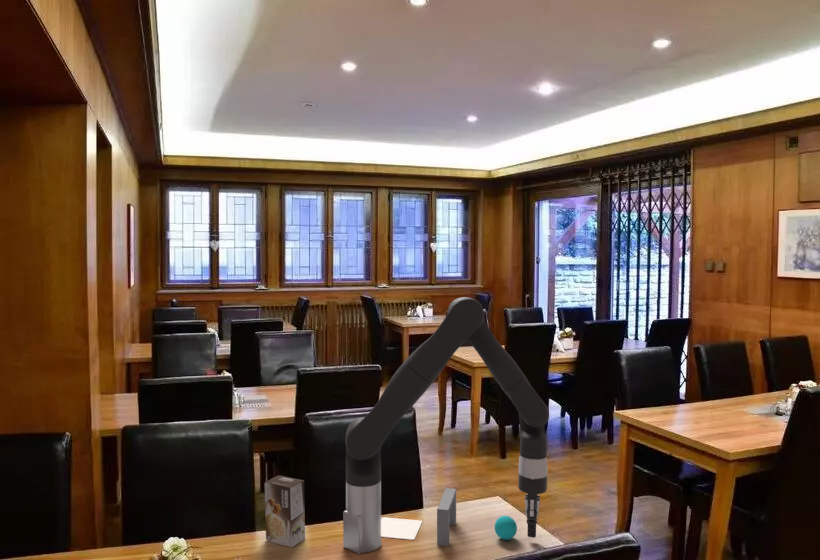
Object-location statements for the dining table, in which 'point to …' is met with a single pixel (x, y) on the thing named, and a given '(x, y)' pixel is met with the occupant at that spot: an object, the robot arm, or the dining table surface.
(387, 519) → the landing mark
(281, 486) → the coffee box
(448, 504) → the bridge
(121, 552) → the dining table surface
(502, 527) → the ball
